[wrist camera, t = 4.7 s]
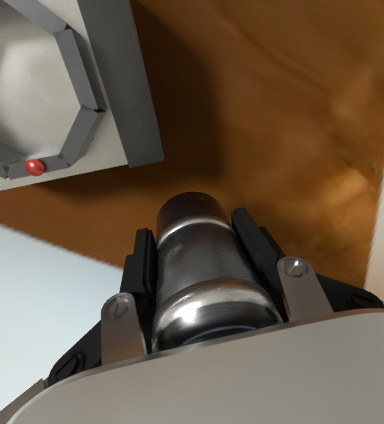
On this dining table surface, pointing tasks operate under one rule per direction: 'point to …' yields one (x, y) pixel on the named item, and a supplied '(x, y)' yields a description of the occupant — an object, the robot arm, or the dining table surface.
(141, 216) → the dining table surface
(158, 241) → the lens
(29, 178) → the grey striped block
